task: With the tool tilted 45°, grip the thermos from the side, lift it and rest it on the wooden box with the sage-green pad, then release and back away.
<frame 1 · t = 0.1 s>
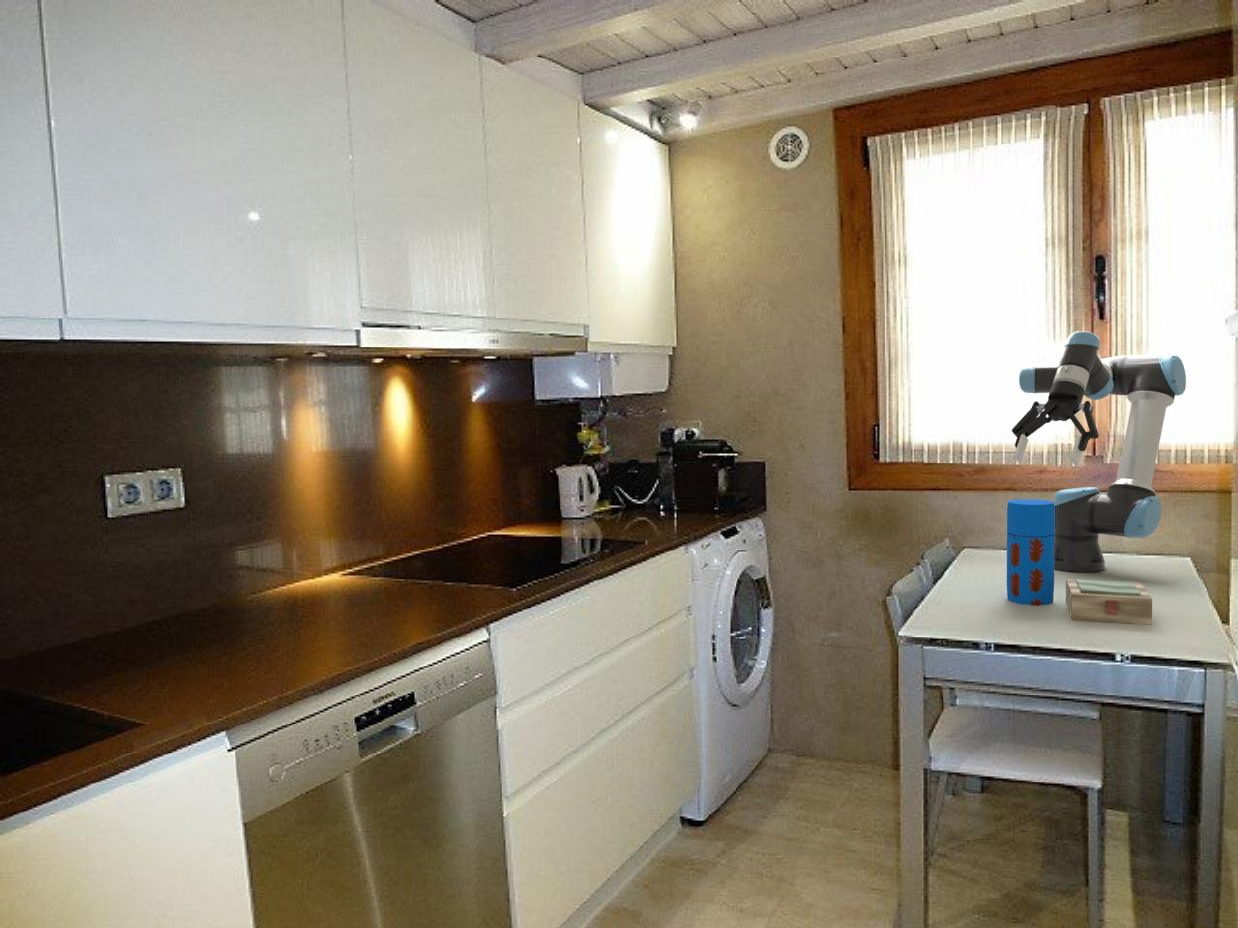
hand: (1044, 460, 215), 36 cm above the table, tool tilted 35°, fingers open, 13 cm apart
thermos: (1030, 600, 223), on the table
wooden box: (1106, 613, 209), on the table
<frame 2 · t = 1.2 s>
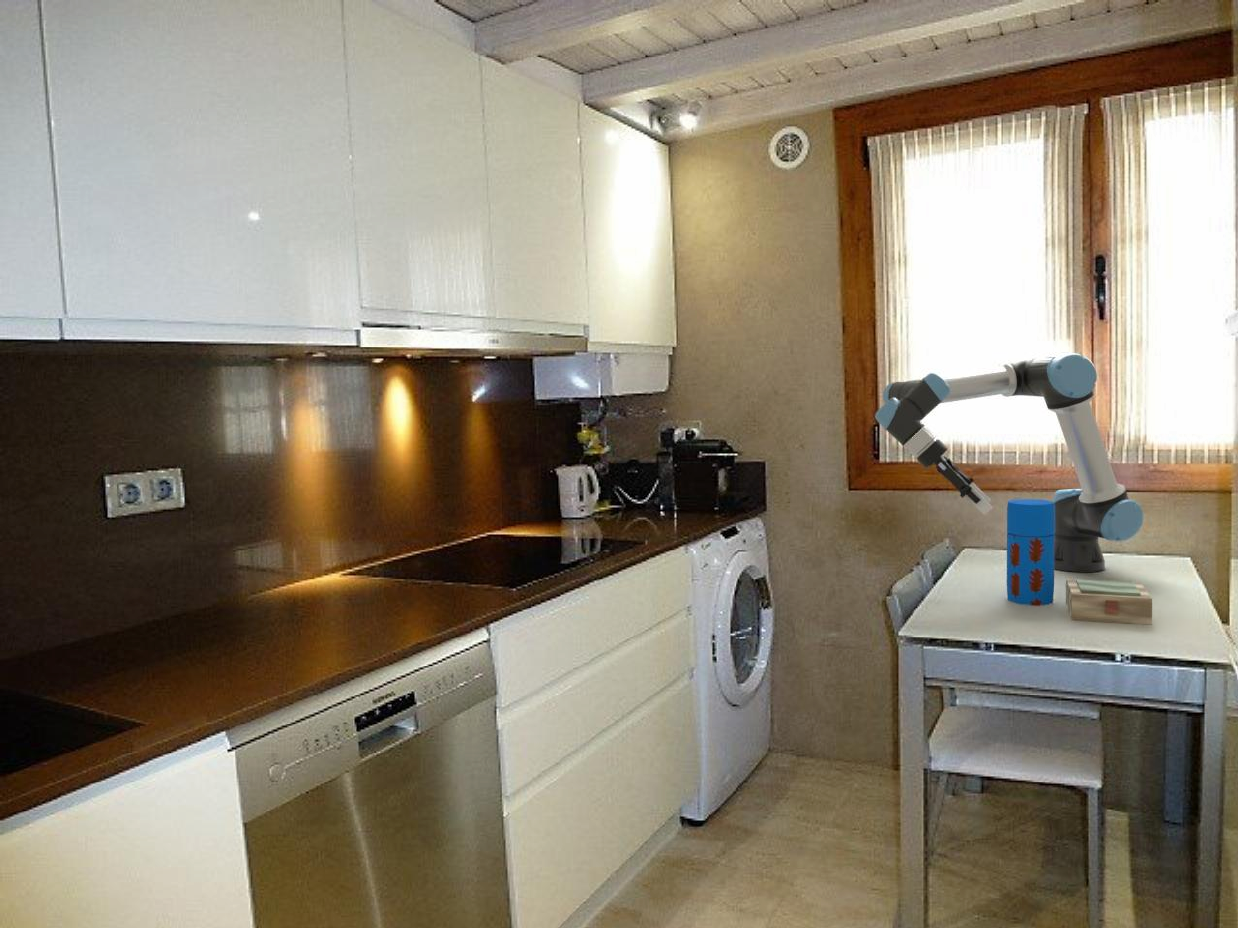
hand: (988, 507, 224), 23 cm above the table, tool tilted 45°, fingers open, 13 cm apart
nothing on the table moved.
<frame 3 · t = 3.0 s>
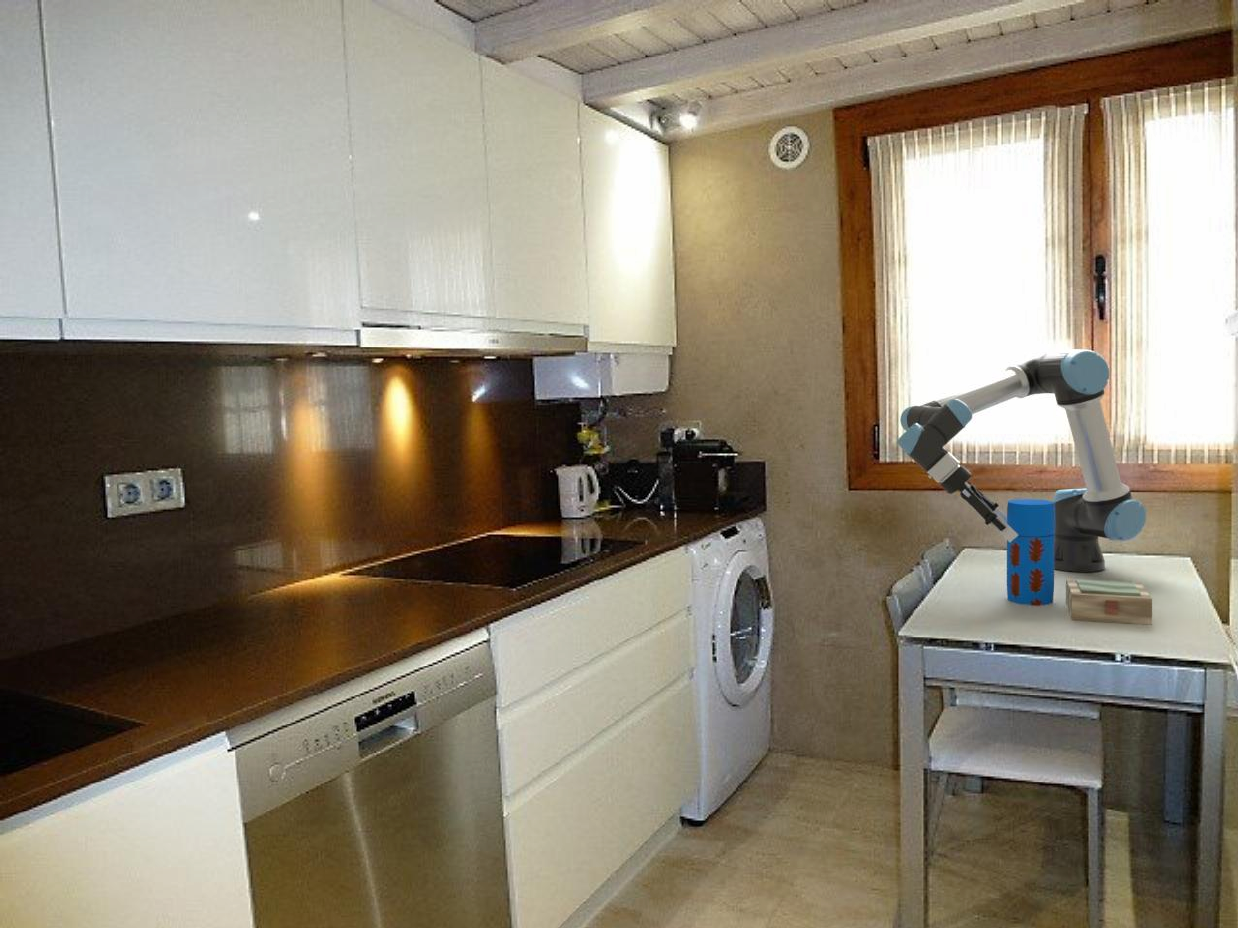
hand: (1013, 534, 222), 17 cm above the table, tool tilted 45°, fingers open, 13 cm apart
nothing on the table moved.
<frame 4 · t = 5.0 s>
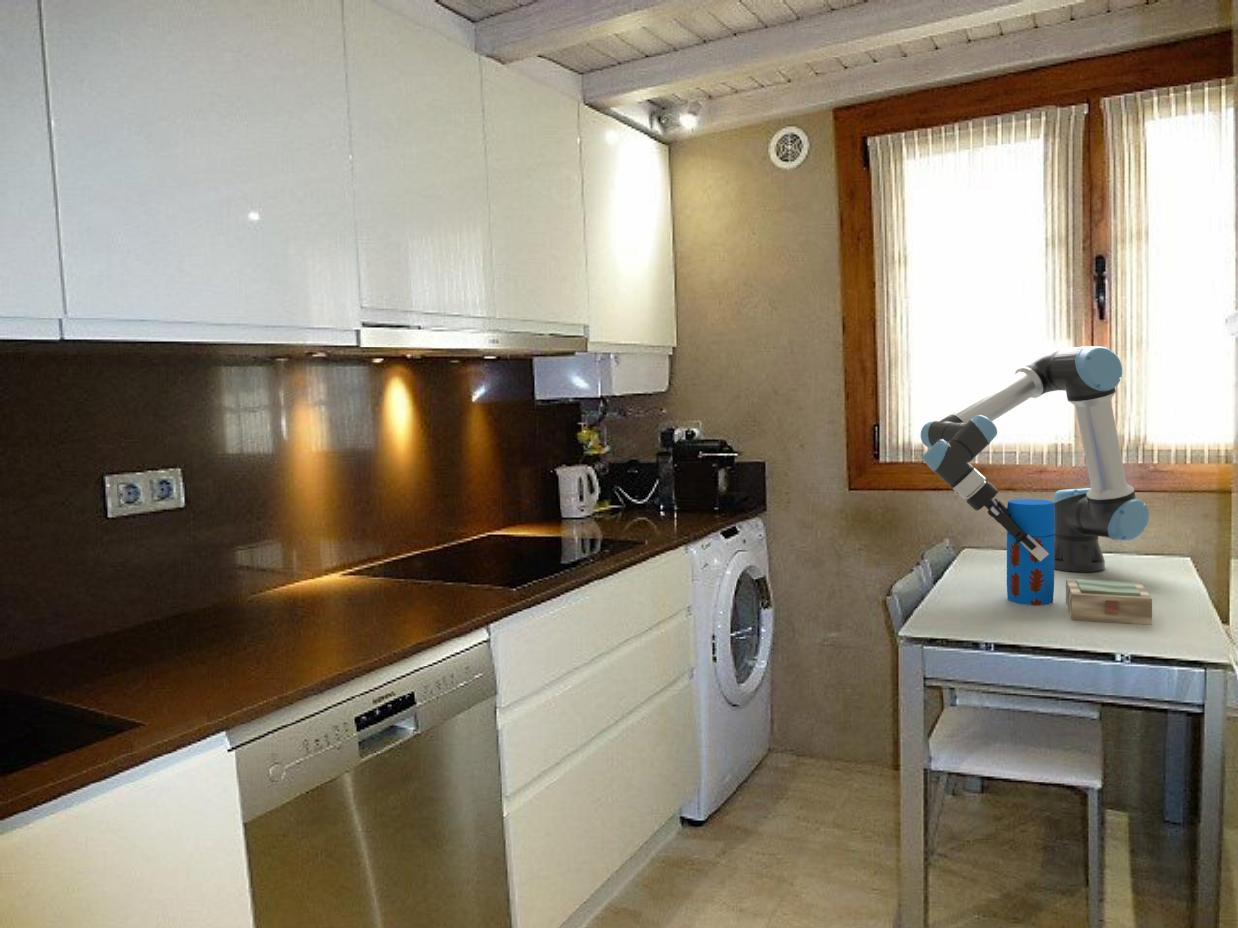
hand: (1043, 553, 221), 12 cm above the table, tool tilted 45°, fingers closed on thermos, 11 cm apart
thermos: (1030, 600, 223), on the table, touching gripper
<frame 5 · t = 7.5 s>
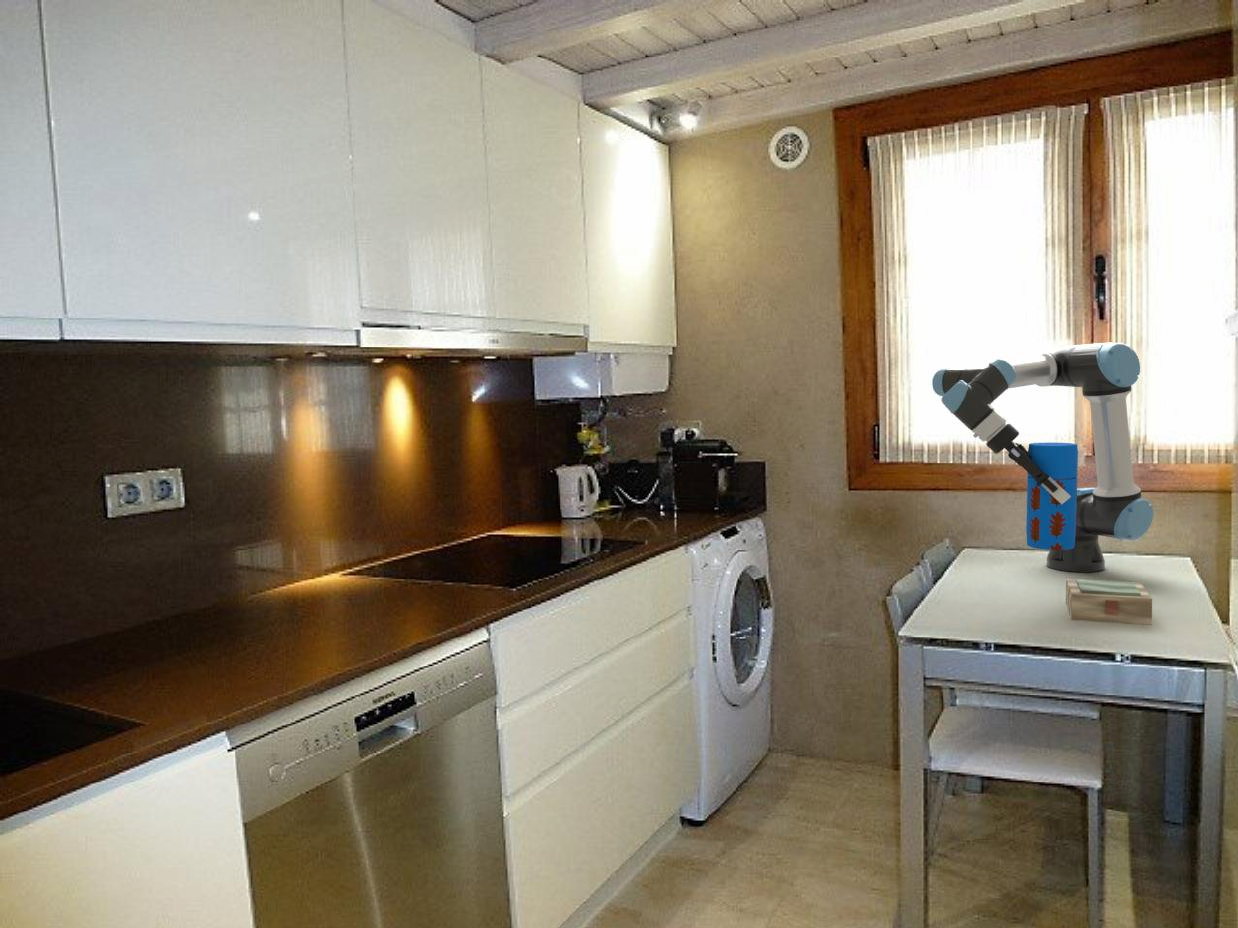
hand: (1065, 497, 214), 27 cm above the table, tool tilted 45°, fingers closed on thermos, 11 cm apart
thermos: (1050, 546, 216), point 15 cm above the table, touching gripper
when the fingers open (20 cm above the table, at t = 10.4 s): thermos drops 1 cm, resting on wooden box.
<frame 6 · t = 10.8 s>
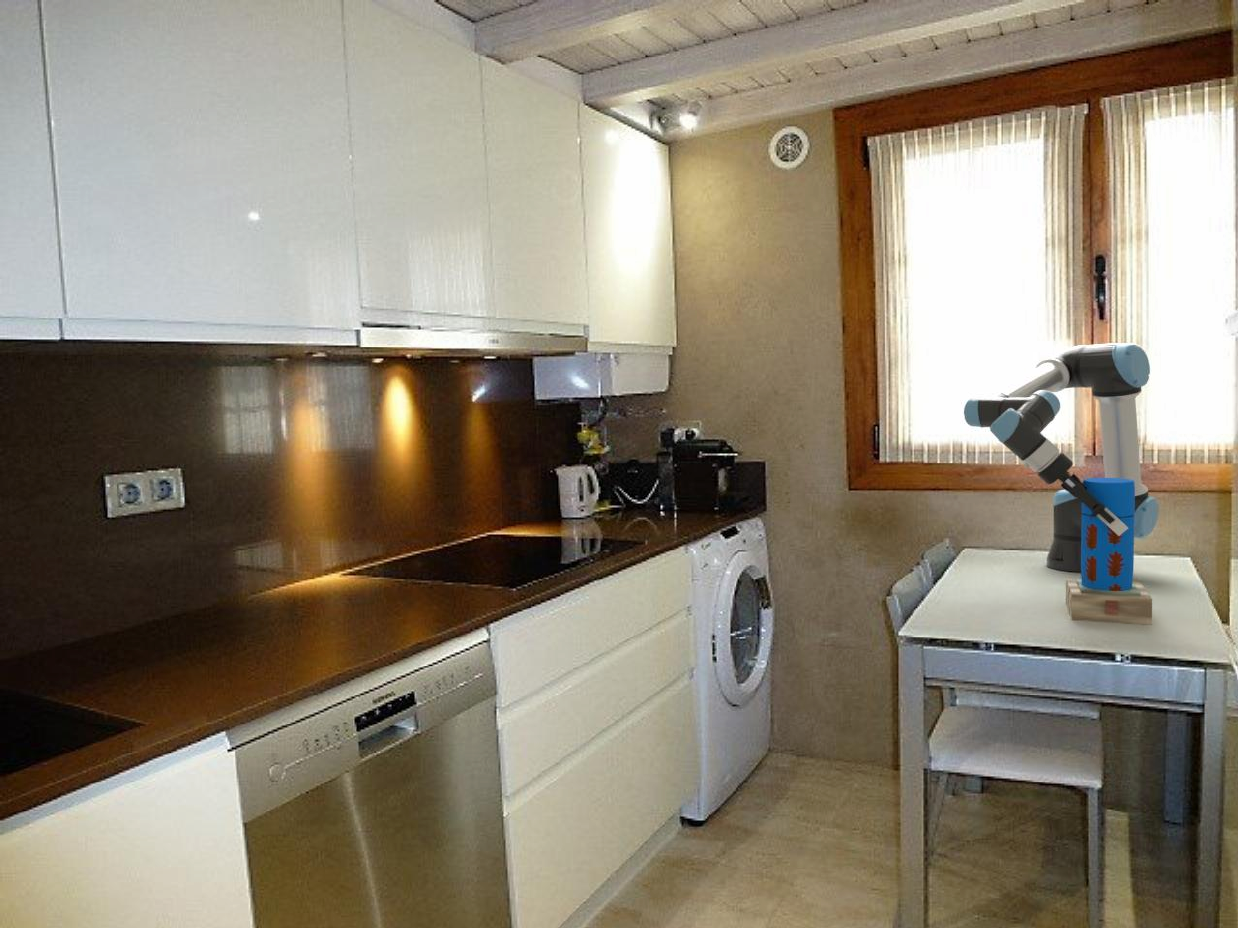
hand: (1119, 527, 206), 21 cm above the table, tool tilted 45°, fingers open, 13 cm apart
thermos: (1106, 586, 208), point 6 cm above the table, touching wooden box
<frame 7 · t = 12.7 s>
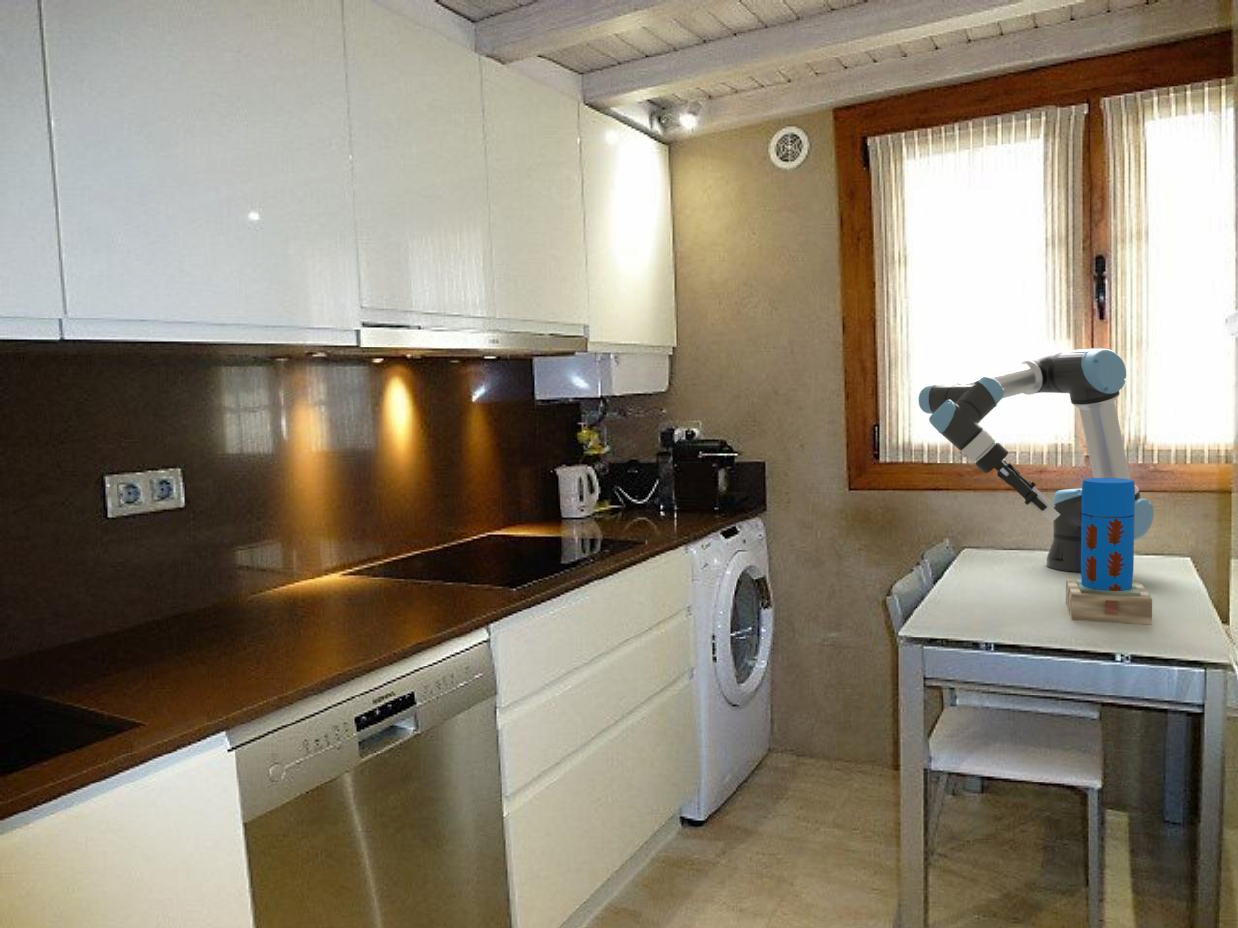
hand: (1053, 514, 212), 23 cm above the table, tool tilted 45°, fingers open, 13 cm apart
nothing on the table moved.
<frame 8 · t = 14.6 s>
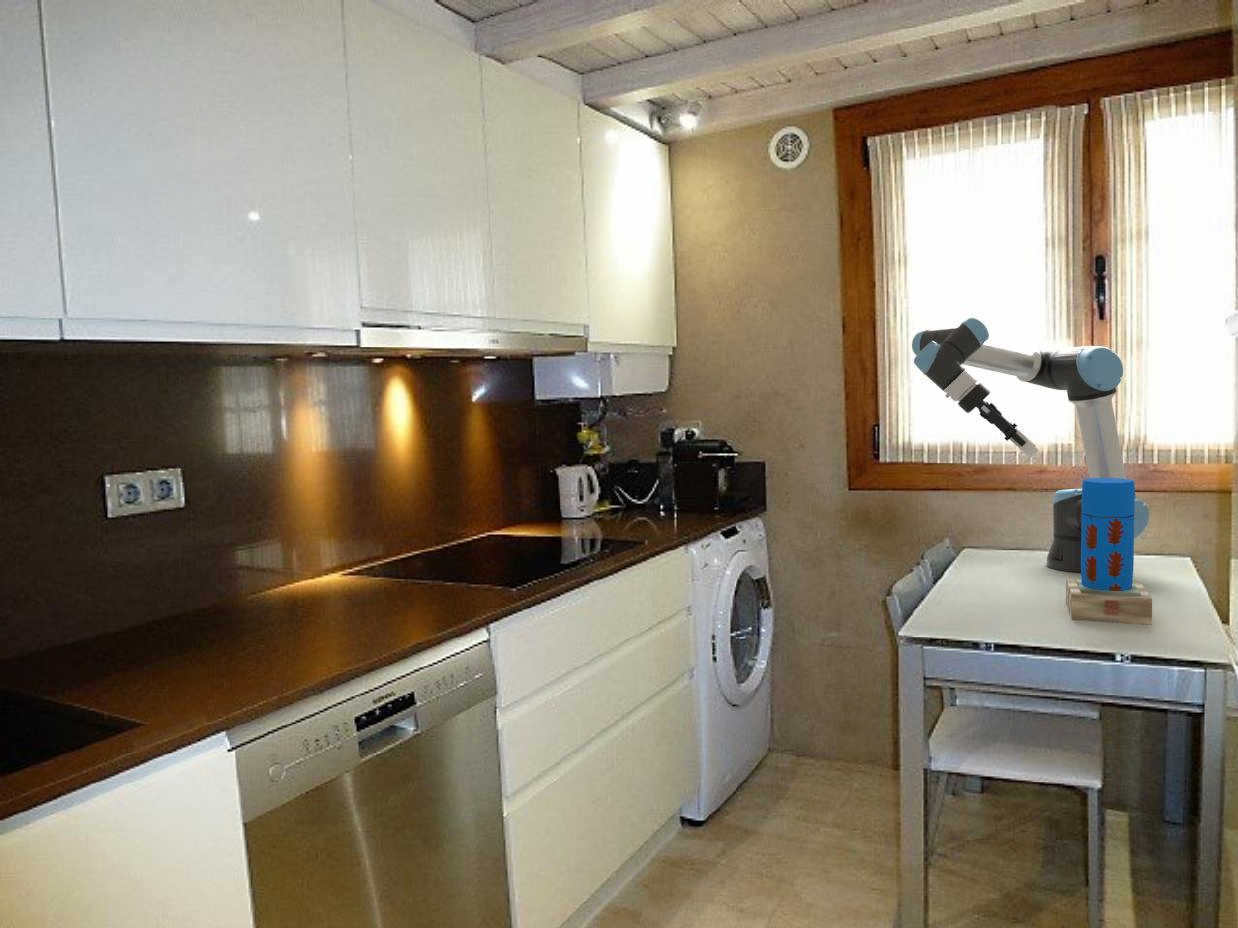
hand: (1033, 451, 218), 38 cm above the table, tool tilted 45°, fingers open, 13 cm apart
nothing on the table moved.
at the end: thermos inside the target area on the wooden box (0.1 cm from its centre), point 6.4 cm above the wooden box's base; thermos tilted 0°; the gripper is holding nothing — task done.
